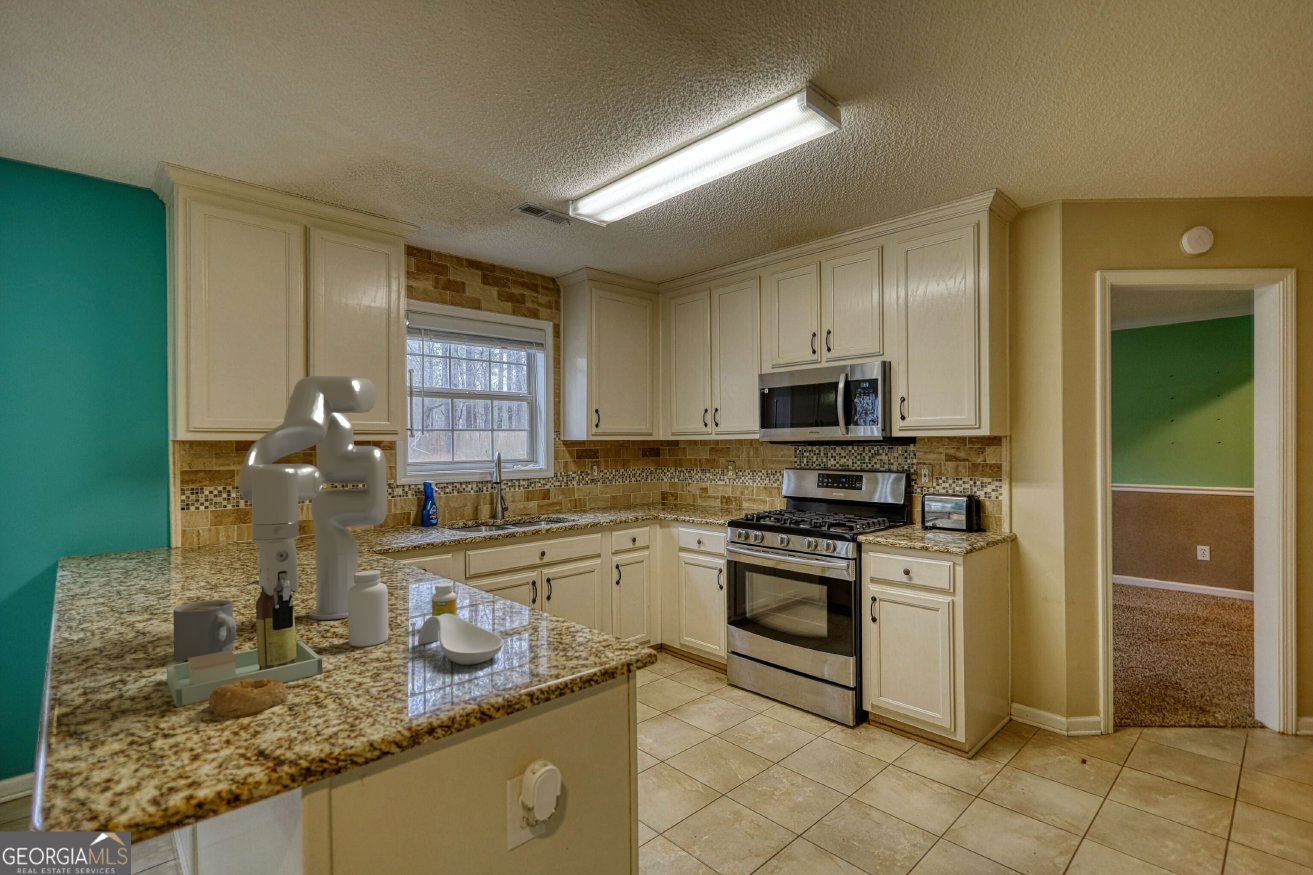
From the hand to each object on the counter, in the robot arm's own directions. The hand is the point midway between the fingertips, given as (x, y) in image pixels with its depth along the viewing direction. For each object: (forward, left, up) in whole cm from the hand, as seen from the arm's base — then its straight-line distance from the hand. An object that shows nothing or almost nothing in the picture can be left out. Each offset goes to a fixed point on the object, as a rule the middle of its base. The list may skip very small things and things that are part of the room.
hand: (276, 623), depth 120 cm
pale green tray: (+5, 0, -9) cm, 11 cm away
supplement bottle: (-36, -8, -10) cm, 38 cm away
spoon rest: (-29, +13, -10) cm, 34 cm away
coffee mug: (+8, -22, -10) cm, 25 cm away
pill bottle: (-19, -8, -10) cm, 23 cm away
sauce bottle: (0, 0, -9) cm, 9 cm away
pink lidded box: (+10, 0, -9) cm, 13 cm away
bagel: (+7, +15, -10) cm, 19 cm away
